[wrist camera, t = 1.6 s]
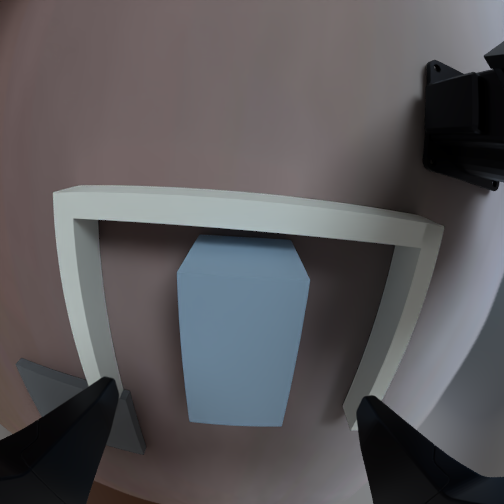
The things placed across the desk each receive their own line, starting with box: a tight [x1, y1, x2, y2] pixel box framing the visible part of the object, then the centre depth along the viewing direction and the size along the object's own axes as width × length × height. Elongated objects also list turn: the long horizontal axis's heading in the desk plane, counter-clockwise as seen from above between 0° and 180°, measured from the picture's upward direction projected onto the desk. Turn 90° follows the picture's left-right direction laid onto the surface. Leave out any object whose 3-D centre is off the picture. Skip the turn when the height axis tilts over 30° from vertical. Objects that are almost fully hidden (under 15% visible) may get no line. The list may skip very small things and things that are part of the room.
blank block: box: [177, 234, 310, 426], centre depth 13 cm, size 4×8×5 cm, turn 176°
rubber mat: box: [16, 358, 146, 455], centre depth 18 cm, size 11×8×1 cm
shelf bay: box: [53, 185, 445, 431], centre depth 15 cm, size 18×14×2 cm
